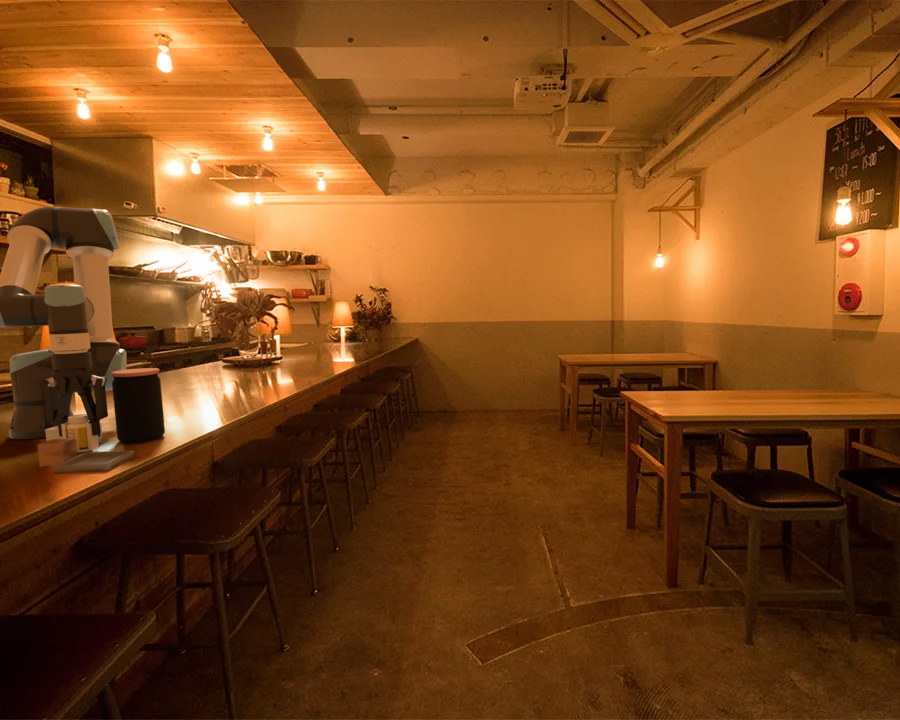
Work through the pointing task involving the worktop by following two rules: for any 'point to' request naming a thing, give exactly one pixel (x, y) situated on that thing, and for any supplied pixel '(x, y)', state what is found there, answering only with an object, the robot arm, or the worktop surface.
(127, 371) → the coffee jar
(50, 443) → the walnut block
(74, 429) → the supplement bottle
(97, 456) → the slate tray
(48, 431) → the sage block
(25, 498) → the worktop surface
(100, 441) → the chrome cylinder
